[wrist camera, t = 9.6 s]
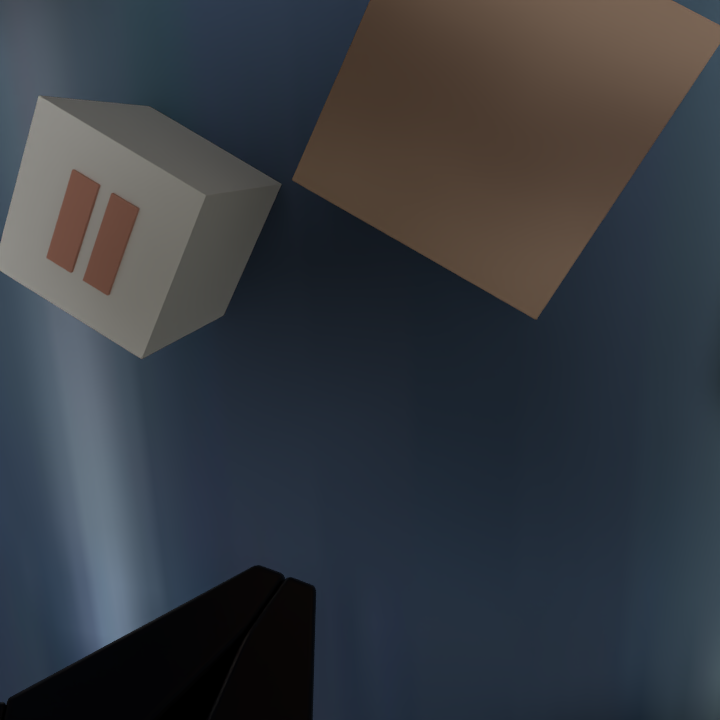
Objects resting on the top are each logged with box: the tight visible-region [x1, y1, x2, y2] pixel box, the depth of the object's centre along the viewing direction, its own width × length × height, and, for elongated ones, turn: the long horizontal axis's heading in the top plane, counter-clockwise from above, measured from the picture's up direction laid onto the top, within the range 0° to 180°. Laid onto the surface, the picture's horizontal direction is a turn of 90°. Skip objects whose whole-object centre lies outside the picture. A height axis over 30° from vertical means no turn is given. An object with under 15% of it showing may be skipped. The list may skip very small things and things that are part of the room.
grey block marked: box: [0, 96, 282, 359], centre depth 19 cm, size 5×5×5 cm
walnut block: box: [292, 0, 720, 320], centre depth 16 cm, size 7×7×4 cm
